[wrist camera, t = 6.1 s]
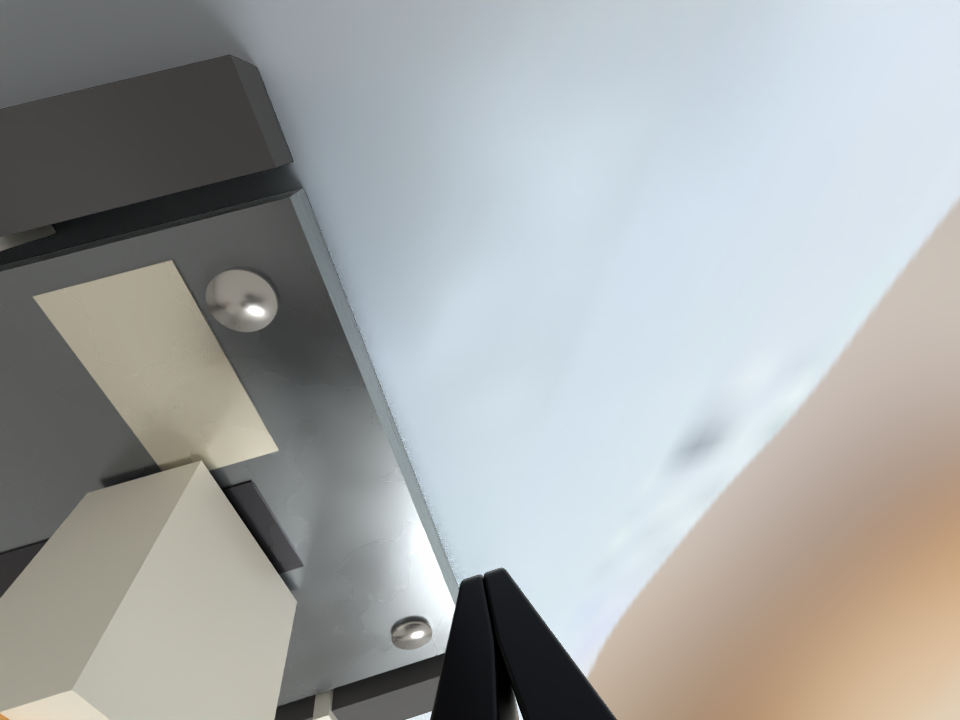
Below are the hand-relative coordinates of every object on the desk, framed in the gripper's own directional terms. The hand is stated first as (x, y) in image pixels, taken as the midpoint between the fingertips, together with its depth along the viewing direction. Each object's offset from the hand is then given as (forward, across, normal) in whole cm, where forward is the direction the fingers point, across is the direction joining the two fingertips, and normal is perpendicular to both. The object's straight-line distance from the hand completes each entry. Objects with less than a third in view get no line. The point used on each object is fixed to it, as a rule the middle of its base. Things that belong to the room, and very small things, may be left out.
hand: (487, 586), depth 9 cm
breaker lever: (+3, +6, 0) cm, 7 cm away
